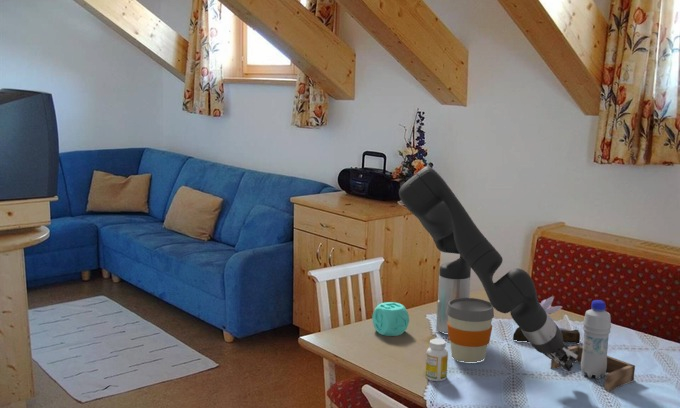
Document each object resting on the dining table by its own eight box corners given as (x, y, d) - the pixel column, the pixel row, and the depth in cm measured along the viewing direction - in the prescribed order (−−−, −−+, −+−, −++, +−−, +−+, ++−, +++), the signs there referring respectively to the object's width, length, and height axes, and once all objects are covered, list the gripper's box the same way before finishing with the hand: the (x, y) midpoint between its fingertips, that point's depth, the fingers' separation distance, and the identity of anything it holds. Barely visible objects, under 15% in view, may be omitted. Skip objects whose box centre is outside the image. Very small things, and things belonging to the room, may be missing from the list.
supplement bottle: (427, 382, 174) (429, 345, 173) (423, 373, 180) (424, 337, 178) (449, 381, 175) (450, 345, 173) (443, 372, 180) (445, 337, 179)
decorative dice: (409, 333, 209) (409, 307, 208) (388, 338, 204) (388, 311, 203) (392, 325, 215) (393, 300, 214) (371, 330, 211) (372, 304, 210)
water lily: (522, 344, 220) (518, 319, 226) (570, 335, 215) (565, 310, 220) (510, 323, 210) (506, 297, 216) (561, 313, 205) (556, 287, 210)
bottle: (574, 370, 183) (580, 296, 180) (599, 369, 184) (605, 296, 180) (586, 380, 177) (592, 305, 173) (611, 380, 177) (618, 304, 174)
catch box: (608, 391, 171) (609, 375, 170) (550, 368, 184) (551, 353, 184) (633, 380, 177) (635, 365, 177) (576, 358, 191) (577, 345, 190)
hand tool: (576, 340, 205) (577, 325, 204) (580, 345, 201) (581, 330, 201) (511, 338, 206) (512, 323, 205) (513, 343, 202) (514, 328, 201)
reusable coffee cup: (462, 345, 200) (465, 294, 197) (500, 357, 191) (503, 304, 188) (435, 356, 191) (437, 303, 188) (473, 370, 182) (476, 315, 180)
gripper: (510, 334, 169) (539, 371, 178) (556, 351, 159) (584, 389, 168) (526, 309, 171) (554, 347, 181) (572, 325, 161) (599, 363, 170)
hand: (568, 367), depth 174 cm, fingers closed
